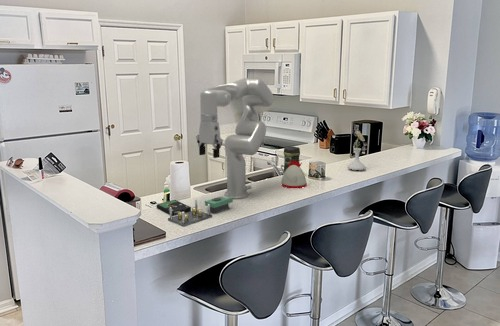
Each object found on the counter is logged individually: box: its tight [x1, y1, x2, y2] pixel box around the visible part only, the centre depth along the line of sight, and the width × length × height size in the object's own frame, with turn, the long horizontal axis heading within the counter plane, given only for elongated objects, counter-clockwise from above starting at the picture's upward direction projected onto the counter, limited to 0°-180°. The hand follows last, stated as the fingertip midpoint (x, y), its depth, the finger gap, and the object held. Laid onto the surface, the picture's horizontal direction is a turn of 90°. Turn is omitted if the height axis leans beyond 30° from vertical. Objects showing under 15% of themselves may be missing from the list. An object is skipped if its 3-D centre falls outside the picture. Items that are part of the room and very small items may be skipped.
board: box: [204, 195, 234, 208], centre depth 203 cm, size 12×6×3 cm, turn 138°
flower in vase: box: [347, 130, 367, 171], centre depth 281 cm, size 13×11×25 cm
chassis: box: [167, 199, 213, 227], centre depth 191 cm, size 16×11×6 cm
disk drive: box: [156, 199, 192, 217], centre depth 204 cm, size 10×3×15 cm
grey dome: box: [281, 160, 307, 189], centre depth 244 cm, size 14×14×15 cm
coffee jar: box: [282, 145, 301, 176], centre depth 263 cm, size 10×8×19 cm
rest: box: [210, 203, 230, 214], centre depth 204 cm, size 9×4×3 cm, turn 138°
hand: (209, 156), depth 200 cm, fingers open, 9 cm apart
